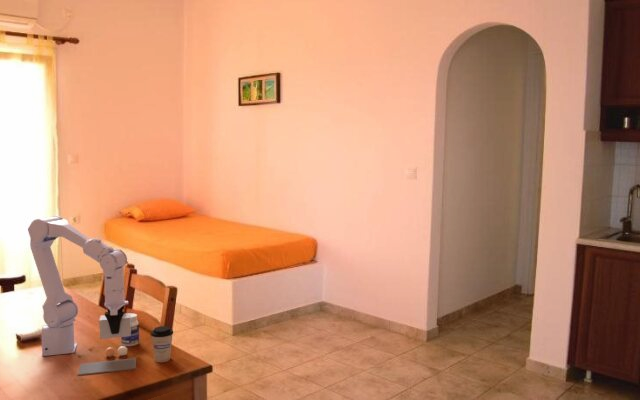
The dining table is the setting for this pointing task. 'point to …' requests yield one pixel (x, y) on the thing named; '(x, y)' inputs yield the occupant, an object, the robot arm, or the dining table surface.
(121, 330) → the cover
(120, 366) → the mat
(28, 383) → the dining table surface
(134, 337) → the pill bottle
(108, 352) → the terracotta marble
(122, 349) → the cream marble
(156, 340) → the coffee cup
